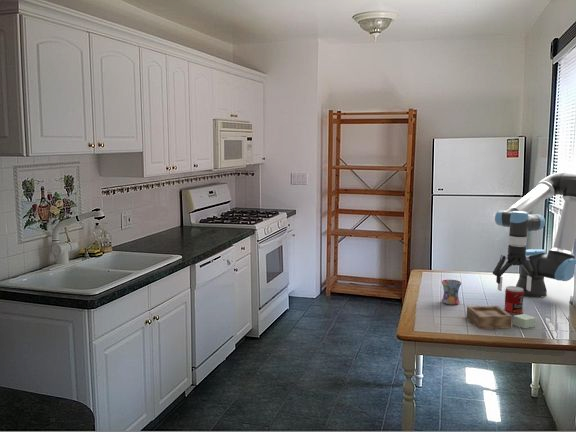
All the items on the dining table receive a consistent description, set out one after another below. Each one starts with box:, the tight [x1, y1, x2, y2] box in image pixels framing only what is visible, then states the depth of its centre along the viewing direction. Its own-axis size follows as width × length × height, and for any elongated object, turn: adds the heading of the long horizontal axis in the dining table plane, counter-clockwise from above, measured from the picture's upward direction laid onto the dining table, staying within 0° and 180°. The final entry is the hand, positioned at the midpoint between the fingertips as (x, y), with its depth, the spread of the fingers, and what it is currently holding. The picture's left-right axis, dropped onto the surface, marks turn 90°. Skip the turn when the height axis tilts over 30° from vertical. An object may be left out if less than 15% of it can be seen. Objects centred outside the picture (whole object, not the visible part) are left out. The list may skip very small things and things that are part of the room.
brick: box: [512, 313, 536, 329], centre depth 235 cm, size 6×6×4 cm
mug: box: [441, 279, 462, 306], centre depth 267 cm, size 12×9×11 cm
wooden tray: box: [466, 305, 513, 329], centre depth 238 cm, size 14×14×5 cm
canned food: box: [503, 285, 524, 315], centre depth 254 cm, size 8×8×11 cm
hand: (513, 290), depth 253 cm, fingers open, 13 cm apart
